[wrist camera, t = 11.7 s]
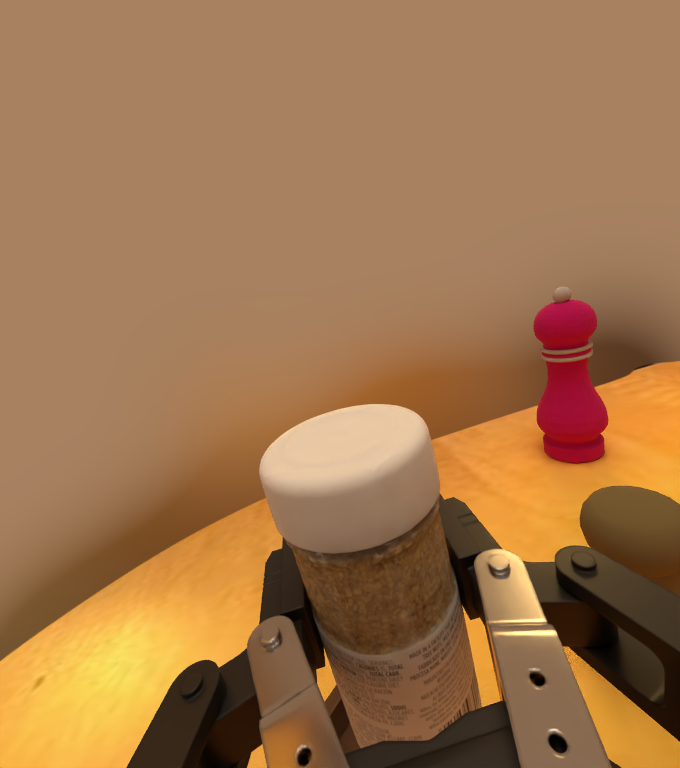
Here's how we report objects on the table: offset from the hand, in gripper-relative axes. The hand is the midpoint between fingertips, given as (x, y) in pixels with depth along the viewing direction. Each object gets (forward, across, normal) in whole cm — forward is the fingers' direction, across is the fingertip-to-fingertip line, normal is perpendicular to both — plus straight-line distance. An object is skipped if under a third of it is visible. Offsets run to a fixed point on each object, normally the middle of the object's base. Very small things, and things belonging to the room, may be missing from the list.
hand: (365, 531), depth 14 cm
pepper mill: (+26, -28, +18) cm, 42 cm away
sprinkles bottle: (-3, 0, +8) cm, 9 cm away
